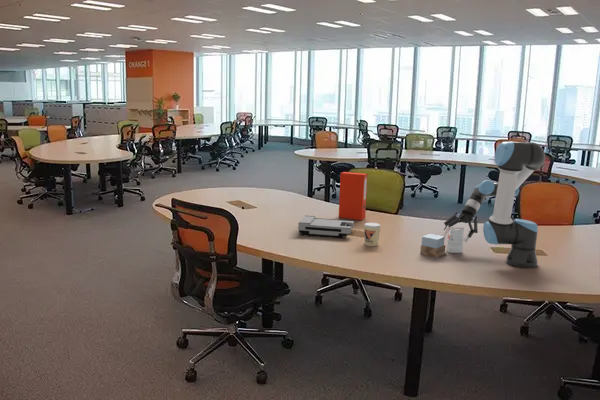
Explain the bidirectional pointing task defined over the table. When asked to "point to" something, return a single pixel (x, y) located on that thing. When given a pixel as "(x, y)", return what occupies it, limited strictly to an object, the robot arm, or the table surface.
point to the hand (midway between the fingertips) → (454, 238)
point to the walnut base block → (432, 251)
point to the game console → (324, 227)
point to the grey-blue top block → (433, 241)
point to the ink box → (455, 240)
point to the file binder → (352, 195)
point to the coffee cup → (371, 233)
